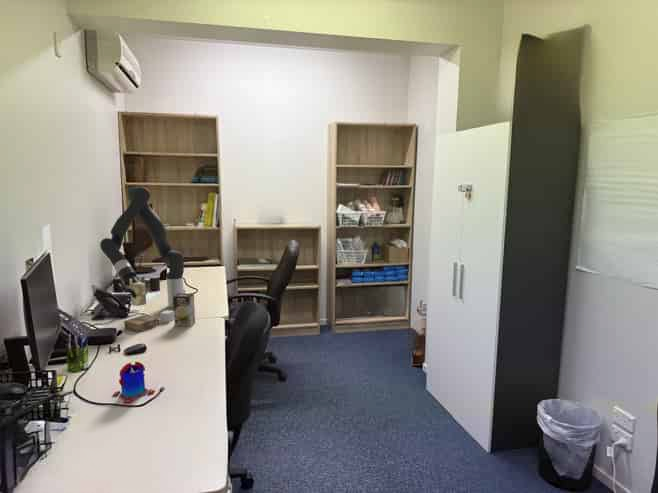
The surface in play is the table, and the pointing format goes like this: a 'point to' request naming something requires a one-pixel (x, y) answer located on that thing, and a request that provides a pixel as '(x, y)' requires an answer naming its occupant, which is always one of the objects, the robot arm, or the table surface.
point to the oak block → (138, 294)
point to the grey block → (167, 316)
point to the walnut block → (140, 323)
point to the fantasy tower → (132, 383)
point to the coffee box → (184, 309)
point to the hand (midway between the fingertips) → (140, 296)
